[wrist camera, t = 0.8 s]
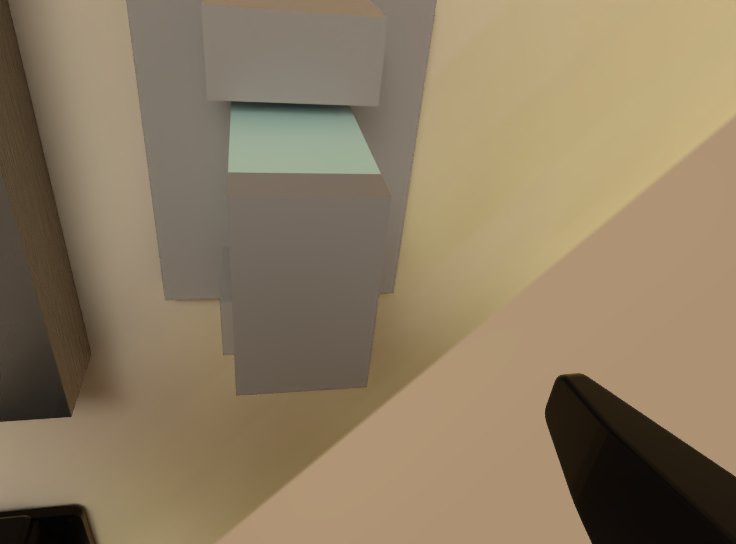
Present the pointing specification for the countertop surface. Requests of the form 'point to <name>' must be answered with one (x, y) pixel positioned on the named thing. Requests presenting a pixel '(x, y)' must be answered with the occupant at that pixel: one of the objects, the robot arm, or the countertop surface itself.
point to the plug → (303, 246)
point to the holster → (274, 85)
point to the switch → (32, 264)
